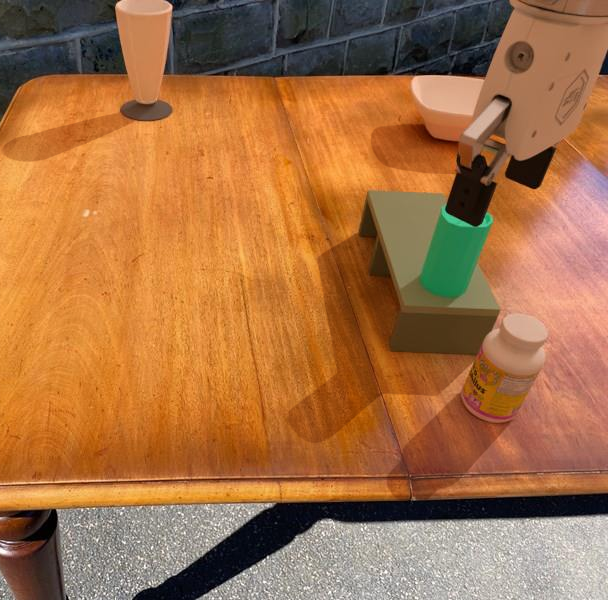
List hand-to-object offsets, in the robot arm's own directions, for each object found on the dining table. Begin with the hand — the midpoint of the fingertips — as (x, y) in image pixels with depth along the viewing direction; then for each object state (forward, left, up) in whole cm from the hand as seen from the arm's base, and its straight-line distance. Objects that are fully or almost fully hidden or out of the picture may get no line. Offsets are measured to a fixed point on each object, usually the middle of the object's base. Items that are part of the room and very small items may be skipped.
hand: (493, 199), depth 55 cm
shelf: (+15, -22, -30) cm, 40 cm away
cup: (+89, -28, -31) cm, 98 cm away
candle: (+8, -16, -22) cm, 29 cm away
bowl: (+41, -73, -31) cm, 89 cm away
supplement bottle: (-4, -10, -31) cm, 32 cm away
